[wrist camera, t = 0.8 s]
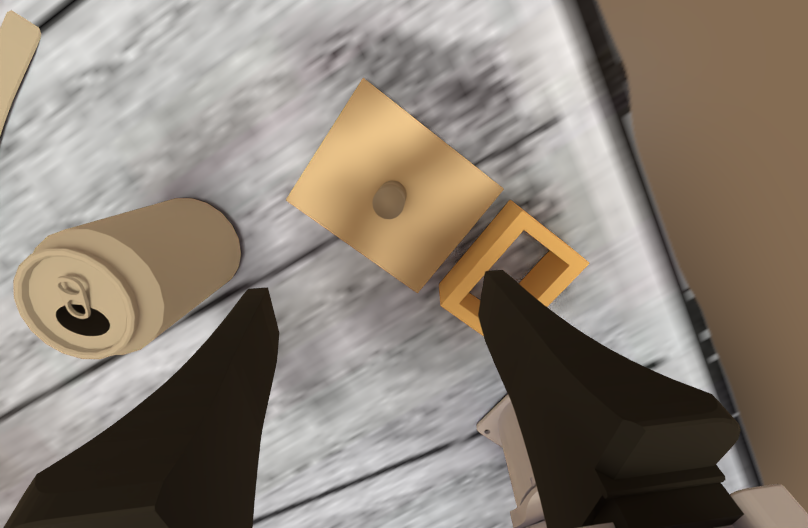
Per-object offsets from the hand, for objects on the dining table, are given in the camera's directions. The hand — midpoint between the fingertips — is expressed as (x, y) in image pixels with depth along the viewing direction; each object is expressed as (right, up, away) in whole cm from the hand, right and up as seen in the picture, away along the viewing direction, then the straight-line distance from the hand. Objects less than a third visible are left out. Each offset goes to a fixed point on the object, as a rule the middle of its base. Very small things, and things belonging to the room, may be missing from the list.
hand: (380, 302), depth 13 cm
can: (-15, +3, +18) cm, 24 cm away
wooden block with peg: (0, +7, +16) cm, 17 cm away
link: (+8, +1, +17) cm, 19 cm away
